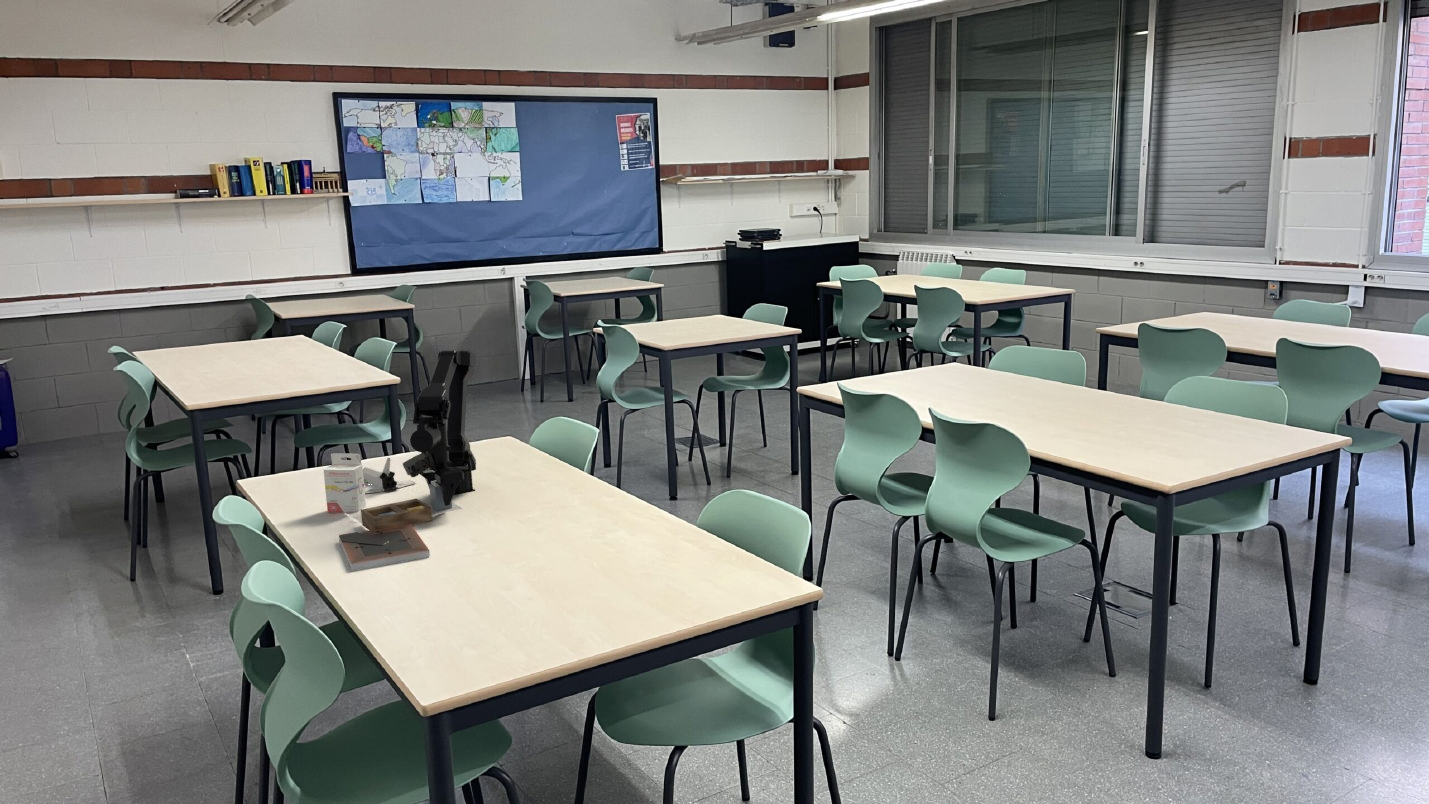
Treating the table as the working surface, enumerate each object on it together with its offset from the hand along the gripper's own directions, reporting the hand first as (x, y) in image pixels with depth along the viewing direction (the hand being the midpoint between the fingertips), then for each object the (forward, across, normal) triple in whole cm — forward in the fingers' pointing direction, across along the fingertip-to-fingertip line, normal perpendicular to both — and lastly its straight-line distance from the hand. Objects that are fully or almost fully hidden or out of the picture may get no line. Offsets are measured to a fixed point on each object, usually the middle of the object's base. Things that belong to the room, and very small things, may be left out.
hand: (441, 501), depth 261 cm
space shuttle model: (+3, -37, -4) cm, 38 cm away
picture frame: (+3, +20, -22) cm, 30 cm away
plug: (+2, 0, 0) cm, 2 cm away
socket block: (+2, +4, -13) cm, 14 cm away
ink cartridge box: (+2, -16, -19) cm, 25 cm away
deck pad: (+2, 0, 0) cm, 2 cm away
